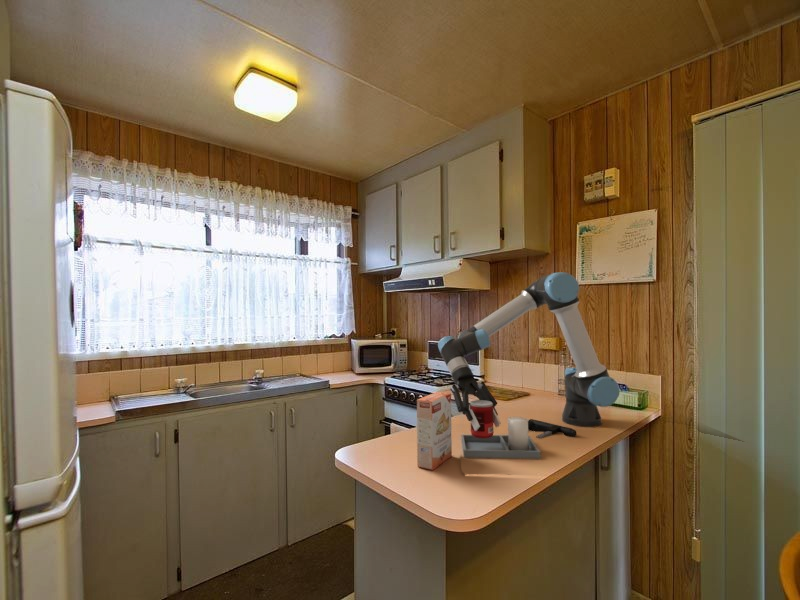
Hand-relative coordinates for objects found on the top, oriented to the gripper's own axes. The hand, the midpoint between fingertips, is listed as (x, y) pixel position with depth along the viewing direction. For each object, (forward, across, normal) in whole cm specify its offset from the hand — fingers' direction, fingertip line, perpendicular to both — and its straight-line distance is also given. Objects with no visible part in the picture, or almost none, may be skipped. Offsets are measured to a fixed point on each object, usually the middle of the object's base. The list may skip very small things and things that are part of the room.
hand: (488, 426), depth 127 cm
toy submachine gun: (+1, -32, -13) cm, 34 cm away
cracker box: (+5, +19, -8) cm, 21 cm away
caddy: (+6, -4, -7) cm, 10 cm away
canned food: (0, 0, -5) cm, 5 cm away
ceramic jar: (+8, -10, -4) cm, 14 cm away
